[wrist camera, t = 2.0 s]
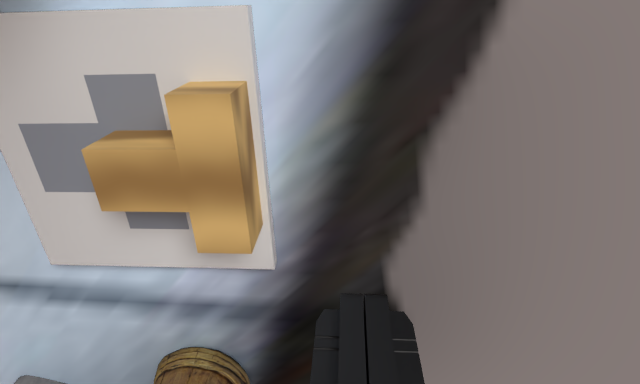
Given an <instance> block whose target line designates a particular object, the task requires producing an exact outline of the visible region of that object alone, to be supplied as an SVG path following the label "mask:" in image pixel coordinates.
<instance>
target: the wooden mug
mask: <svg viewBox="0 0 640 384" xmlns="http://www.w3.org/2000/svg"><path fill="white" fill-rule="evenodd" d="M154 384H250V381H249V378H248V376H247V374H246V372H245V371H244V369H243V368H242V367H241V366H240V365H239V363H237V362H236V361H235V360H234V359H232V358H231V357H230V356H228V355H226V354H224V353H222V352H220V351H217V350H212V349H207V348H202V347H189V348H183V349H180V350H178V351H175V352H173V353H171V354H169V355H167V356H165V357H164V358H163V359H162V361H161V362H160V363H159V365H158V369H157V372H156V375H155V379H154Z"/></svg>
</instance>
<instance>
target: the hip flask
mask: <svg viewBox="0 0 640 384" xmlns="http://www.w3.org/2000/svg"><path fill="white" fill-rule="evenodd" d="M14 384H66V383H62V382H58V381H54V380H49V379H45V378H40V377H35V376H29V375H24V376H21V377H19V378H18V379H17V381H16V382H15V383H14Z"/></svg>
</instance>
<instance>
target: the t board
mask: <svg viewBox="0 0 640 384" xmlns="http://www.w3.org/2000/svg"><path fill="white" fill-rule="evenodd" d="M203 81H247V88H248V97H249V105H250V114H251V123H252V132H253V141H254V149H255V158H256V167H257V176H258V185H259V193H260V202H261V211H262V220H263V226H262V228H261V231H260V234H259V236H258V239H257V242H256V244H255V247H254V249H253V252H252V254H228V253H198V252H197V247H196V242H195V238H194V233H193V228H192V224H191V219H190V214H189V212H124V211H101V208H100V205H99V202H98V199H97V196H96V193H95V190H94V187H93V184H92V181H91V178H90V175H89V172H88V169H87V166H86V163H85V160H84V157H83V154H82V151H81V150H82V149H83V148H85V147H87V146H89V145H90V144H92V143H94V142H96V141H98V140H99V139H101V138H103V137H105V136H106V135H108V134H110V133H112V132H114V131H121V130H171V126H170V121H169V117H168V112H167V107H166V103H165V98H164V95H165V94H166V93H168V92H170V91H172V90H174V89H176V88H178V87H180V86H182V85H184V84H186V83H188V82H203ZM0 149H1V152H2V154H3V156H4V158H5V161H6V163H7V165H8V168H9V170H10V172H11V174H12V177H13V179H14V181H15V183H16V186H17V188H18V190H19V193H20V195H21V197H22V199H23V202H24V204H25V206H26V209H27V211H28V213H29V215H30V218H31V220H32V222H33V225H34V227H35V229H36V231H37V234H38V236H39V238H40V240H41V243H42V245H43V247H44V250H45V252H46V254H47V256H48V259H49V261H50V263H51V265H96V266H142V267H189V268H235V269H275V266H276V262H277V258H276V248H275V238H274V228H273V217H272V207H271V197H270V187H269V177H268V167H267V157H266V147H265V137H264V127H263V117H262V107H261V97H260V87H259V76H258V66H257V56H256V46H255V36H254V26H253V16H252V6H251V5H235V6H203V7H171V8H139V9H107V10H75V11H43V12H10V13H0Z"/></svg>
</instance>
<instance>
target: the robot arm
mask: <svg viewBox="0 0 640 384" xmlns="http://www.w3.org/2000/svg"><path fill="white" fill-rule="evenodd" d="M310 384H425V383H424V378H423V373H422V368H421V363H420V358H419V354H418V348H417V343H416V338H415V332H414V327H413V324H412V322H411V321H410V320H409V318H408V317H407V315H406V314H405V313H404V312H398V311H389V306H388V298H387V295H386V294H364V312H363V294H346V293H341V298H340V310H328V309H324V311H323V312H322V314H321V315H320V317H319V318H318V320H317V322H316V332H315V341H314V351H313V360H312V370H311V380H310Z"/></svg>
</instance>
